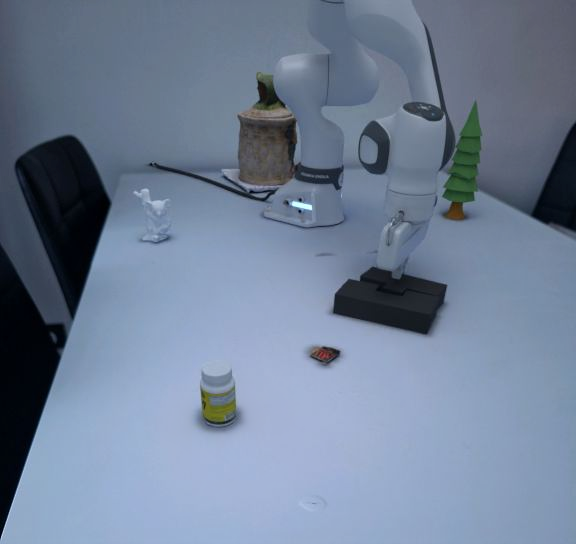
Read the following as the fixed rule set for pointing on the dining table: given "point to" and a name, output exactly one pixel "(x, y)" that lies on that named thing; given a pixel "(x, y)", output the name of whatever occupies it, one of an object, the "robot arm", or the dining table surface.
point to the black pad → (403, 284)
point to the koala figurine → (155, 216)
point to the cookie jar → (265, 142)
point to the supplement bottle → (218, 393)
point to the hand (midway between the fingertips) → (398, 276)
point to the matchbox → (324, 353)
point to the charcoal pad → (386, 306)
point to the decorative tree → (464, 167)
